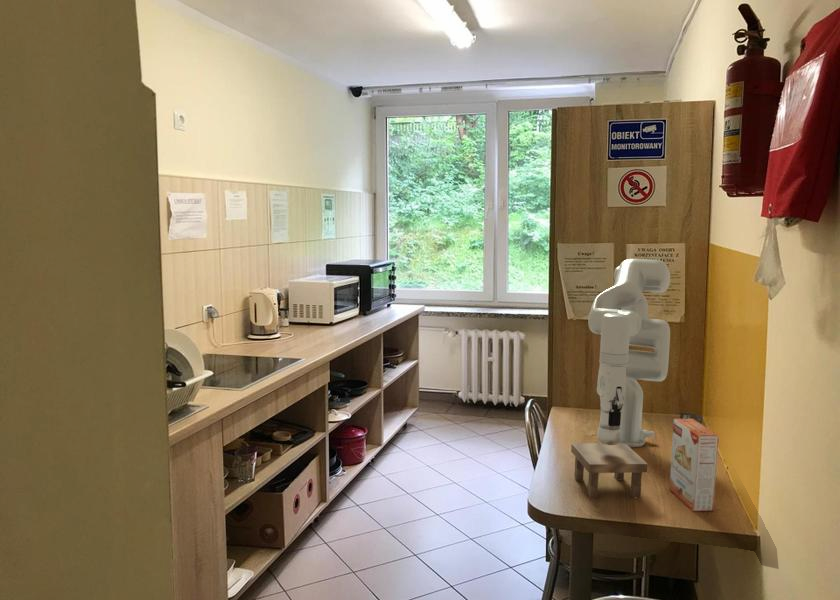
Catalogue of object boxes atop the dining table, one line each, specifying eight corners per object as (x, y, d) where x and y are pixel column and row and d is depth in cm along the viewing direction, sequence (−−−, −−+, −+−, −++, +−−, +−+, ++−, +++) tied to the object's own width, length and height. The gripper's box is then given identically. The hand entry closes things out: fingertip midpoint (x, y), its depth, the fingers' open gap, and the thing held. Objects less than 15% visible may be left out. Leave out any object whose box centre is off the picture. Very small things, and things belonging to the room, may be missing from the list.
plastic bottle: (613, 439, 188) (617, 370, 185) (625, 447, 181) (629, 376, 179) (592, 440, 187) (596, 371, 184) (603, 448, 180) (607, 377, 178)
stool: (623, 475, 194) (625, 443, 193) (645, 499, 178) (647, 463, 177) (569, 476, 193) (571, 443, 192) (587, 500, 177) (589, 464, 176)
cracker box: (667, 489, 185) (672, 417, 182) (688, 489, 185) (693, 417, 183) (691, 512, 171) (697, 434, 168) (713, 511, 172) (720, 434, 169)
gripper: (590, 351, 189) (586, 412, 191) (611, 365, 172) (607, 432, 174) (615, 351, 189) (611, 412, 192) (639, 365, 173) (635, 432, 175)
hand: (610, 421), depth 183 cm, fingers closed on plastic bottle, 5 cm apart
